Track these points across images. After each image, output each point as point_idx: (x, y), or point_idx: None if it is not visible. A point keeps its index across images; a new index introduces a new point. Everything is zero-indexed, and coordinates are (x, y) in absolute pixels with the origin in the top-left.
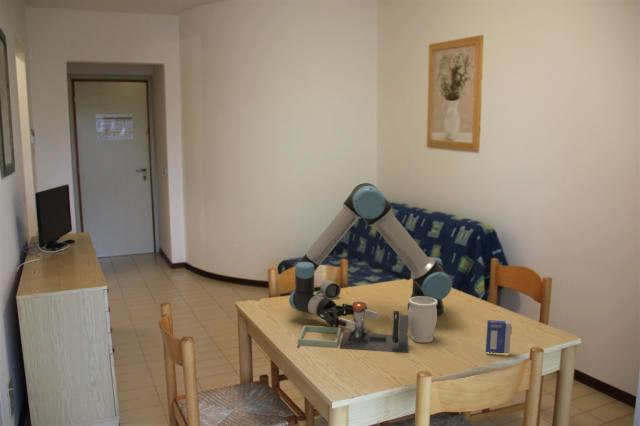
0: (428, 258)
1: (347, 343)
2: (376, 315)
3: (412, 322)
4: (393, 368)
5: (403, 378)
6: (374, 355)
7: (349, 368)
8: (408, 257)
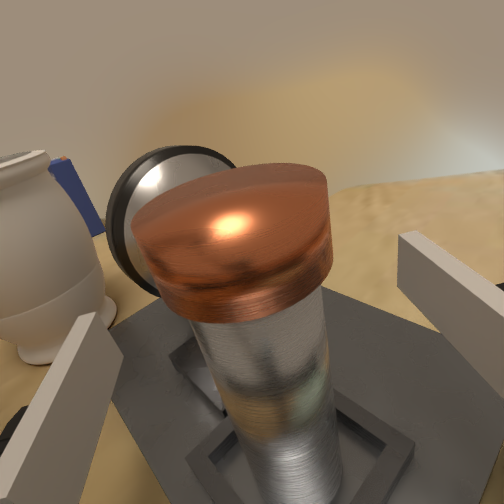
0: None
1: (437, 414)
2: (104, 328)
3: (83, 250)
4: (336, 224)
5: (346, 197)
6: (338, 287)
7: (497, 244)
8: None
